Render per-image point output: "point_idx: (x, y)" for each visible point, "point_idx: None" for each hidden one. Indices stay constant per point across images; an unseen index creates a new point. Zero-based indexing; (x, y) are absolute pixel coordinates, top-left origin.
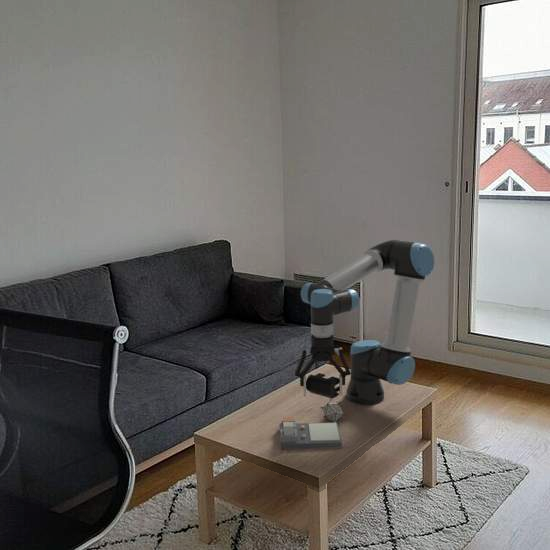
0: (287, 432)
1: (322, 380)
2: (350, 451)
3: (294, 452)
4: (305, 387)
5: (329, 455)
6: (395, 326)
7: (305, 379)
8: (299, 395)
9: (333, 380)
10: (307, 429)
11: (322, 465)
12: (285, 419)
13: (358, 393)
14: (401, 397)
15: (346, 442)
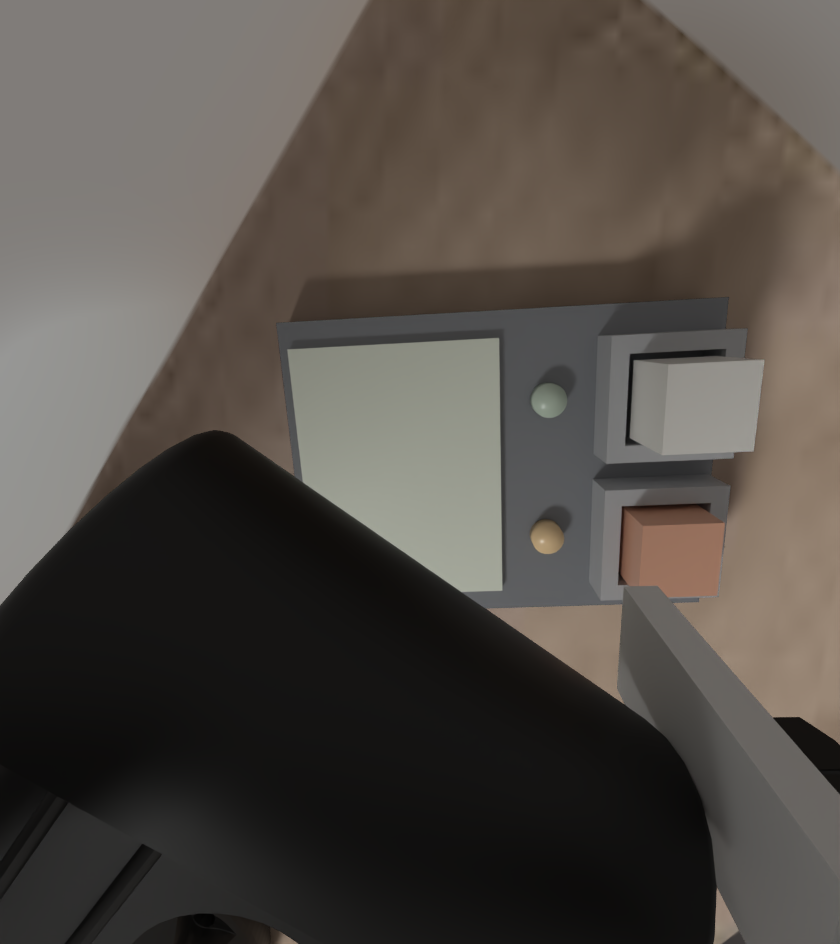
0: (698, 358)
1: (306, 776)
2: (231, 270)
3: (612, 256)
4: (701, 679)
5: (371, 209)
6: None
7: (831, 852)
8: None
9: None
10: (512, 518)
11: (424, 48)
12: (701, 555)
13: (172, 927)
14: None
15: (259, 398)
